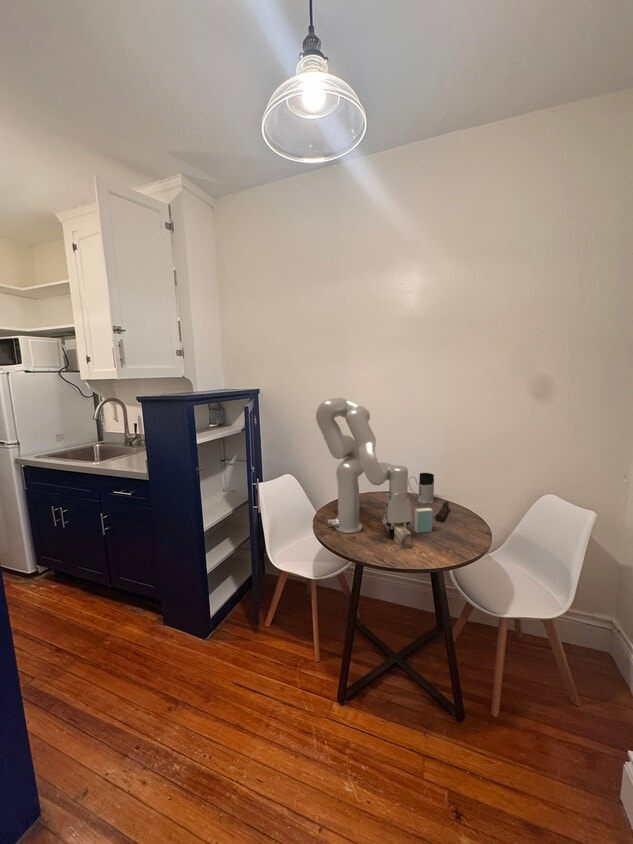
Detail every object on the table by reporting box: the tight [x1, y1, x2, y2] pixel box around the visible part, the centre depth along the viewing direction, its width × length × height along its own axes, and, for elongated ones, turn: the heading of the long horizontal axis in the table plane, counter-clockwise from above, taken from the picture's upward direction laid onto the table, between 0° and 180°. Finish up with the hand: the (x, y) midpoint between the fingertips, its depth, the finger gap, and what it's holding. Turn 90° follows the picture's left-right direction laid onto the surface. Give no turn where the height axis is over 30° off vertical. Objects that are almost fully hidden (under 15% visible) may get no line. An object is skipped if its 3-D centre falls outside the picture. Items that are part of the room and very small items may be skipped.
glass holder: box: [408, 472, 435, 504], centre depth 178 cm, size 9×14×15 cm, turn 86°
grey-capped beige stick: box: [384, 520, 412, 550], centre depth 137 cm, size 4×18×6 cm, turn 9°
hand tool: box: [434, 501, 450, 523], centre depth 160 cm, size 19×4×5 cm, turn 145°
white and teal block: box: [414, 507, 434, 534], centre depth 143 cm, size 7×3×10 cm, turn 99°
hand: (397, 535), depth 137 cm, fingers closed on grey-capped beige stick, 4 cm apart
